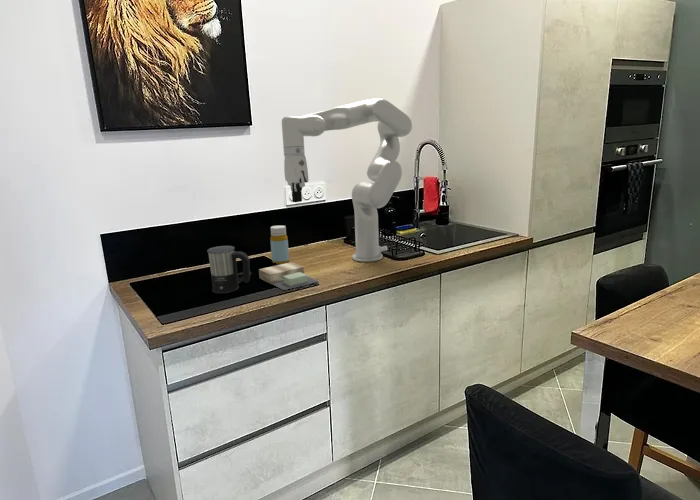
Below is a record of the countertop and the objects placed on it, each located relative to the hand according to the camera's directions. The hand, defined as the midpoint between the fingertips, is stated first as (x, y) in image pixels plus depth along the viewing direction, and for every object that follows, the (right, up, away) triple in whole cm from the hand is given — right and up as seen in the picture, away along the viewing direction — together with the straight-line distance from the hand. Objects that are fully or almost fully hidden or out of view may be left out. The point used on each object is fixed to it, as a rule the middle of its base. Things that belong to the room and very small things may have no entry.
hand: (297, 201), depth 180 cm
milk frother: (-22, -31, -8) cm, 39 cm away
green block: (0, -28, -8) cm, 29 cm away
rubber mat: (0, -30, -7) cm, 31 cm away
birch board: (-6, -28, 0) cm, 29 cm away
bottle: (-9, -23, +20) cm, 32 cm away
